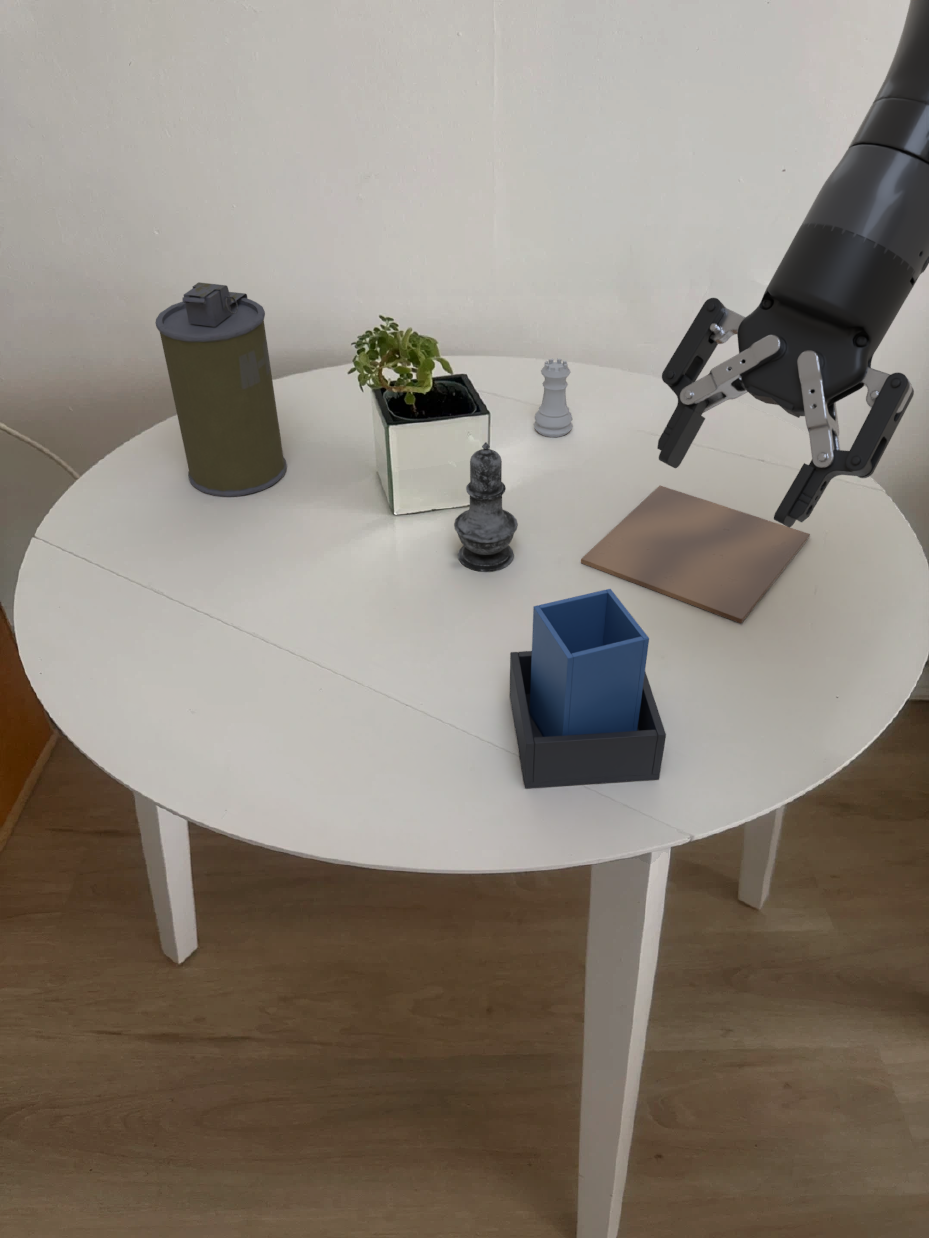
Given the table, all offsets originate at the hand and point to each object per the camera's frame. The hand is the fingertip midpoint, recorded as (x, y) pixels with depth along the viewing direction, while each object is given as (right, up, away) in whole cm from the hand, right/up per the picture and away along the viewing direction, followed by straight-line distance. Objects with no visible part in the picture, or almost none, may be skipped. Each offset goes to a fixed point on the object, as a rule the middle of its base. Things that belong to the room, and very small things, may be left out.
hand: (722, 493), depth 63 cm
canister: (-41, +8, +45) cm, 61 cm away
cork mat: (+6, -1, +32) cm, 32 cm away
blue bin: (-7, -16, +12) cm, 22 cm away
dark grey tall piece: (-14, -2, +32) cm, 35 cm away
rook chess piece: (-6, +14, +51) cm, 53 cm away
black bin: (-7, -17, +13) cm, 22 cm away
